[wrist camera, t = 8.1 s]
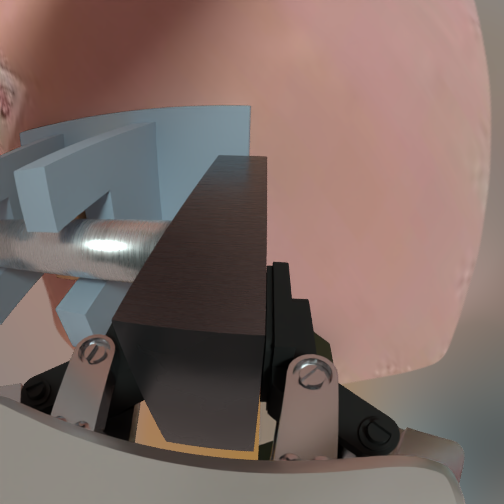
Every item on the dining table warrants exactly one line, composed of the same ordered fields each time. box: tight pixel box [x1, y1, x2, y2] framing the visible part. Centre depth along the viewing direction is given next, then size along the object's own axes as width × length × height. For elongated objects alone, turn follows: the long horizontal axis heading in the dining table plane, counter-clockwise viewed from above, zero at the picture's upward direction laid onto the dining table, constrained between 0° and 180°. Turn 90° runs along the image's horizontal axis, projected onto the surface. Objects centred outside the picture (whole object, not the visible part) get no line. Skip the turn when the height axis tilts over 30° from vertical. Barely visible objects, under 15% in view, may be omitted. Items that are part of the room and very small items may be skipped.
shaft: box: [0, 155, 267, 451], centre depth 13 cm, size 18×6×14 cm, turn 88°
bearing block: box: [0, 105, 251, 347], centre depth 17 cm, size 22×12×14 cm, turn 88°
